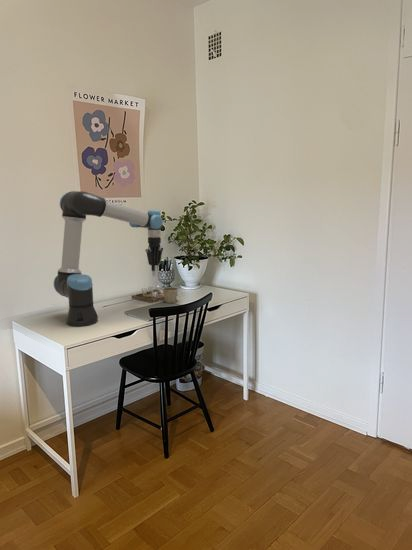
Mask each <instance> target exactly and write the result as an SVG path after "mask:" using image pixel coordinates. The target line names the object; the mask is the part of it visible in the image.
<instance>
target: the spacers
mask: <svg viewBox="0 0 412 550" xmlns="http://www.w3.org/2000/svg"><path fill="white" fill-rule="evenodd" d="M147 290H148V291H147ZM153 290H154V287H153V286H148V287H147V288H141V293H142V297H143V298H144V296H145V295H147V292H148V295H152V299H155V298H158V296H157V294H161V293H162V291H161V290H162V289H161V284H160V285H159V284H158V285H155V290H156V292H153Z"/></svg>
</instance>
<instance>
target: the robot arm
mask: <svg viewBox="0 0 412 550" xmlns="http://www.w3.org/2000/svg"><path fill="white" fill-rule="evenodd" d="M59 206H60V209H61V212H62V214H61V217H62V220H64V227H63V228H64V230H63V240H62V241H63V242H62V243H63V244H62V253H61V254H62V256H61V266H60V268H58V269H57V275H56V276H55V278H54V280H53V288H54V290H55V292H56V293H57V294H59V295H60V296H62V297H66V298H68V310H67V311H68V312H67V315H66V319H65V321H66V325H68V326H72V327H86V326H90V325H94V324H96V323H98V322H99V317H98V314H97V311H96V309H95V305H94V291H93V290H94V288H93V285H94V284H93V280H92V277H91V276H90V275H88V274H86V273H85V274H83V273H82V271H81V269H80V257H81V256H80V255H81V243H82V232H83V222H86V220H87V216H93V217H99V218H101V217H107V218H111V219H114V220H118V221H121V222H125V223H129V224H128V225H129V227H131V228H143V229H147V236H148V237H147V243H148V247H147V248H146V249H145V252H146V256H147V263H148V265H149V266H151V276H152V277H158V271H159V270H158V269H159V267H158V266H160V264H161V260H162V255H163V250H164V247H161V242H162V241H161V240H162V239H161V236H162V235H161V234H162V232H161V230H162V229H161V227H162V226H163V223H164V222H163V217H162V216H161V211H160V210H157V209H155V210H153V209H152V210H151V209H150V210H149V209H148V210H147V212H145V211H142V210H138V209H136V208H131V207H128V206H124V205H121V204H117V203H114V202H111V201H107V199H106V198H104V197H101V196H98V195H95V194H93V193H90V192H87V191H83V190H82V191H79V190H78V191H77V190H76V191H73V190H71V191H67V192H65V193H64V194H63V195H62V196H61V197H60V201H59Z"/></svg>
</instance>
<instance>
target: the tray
mask: <svg viewBox="0 0 412 550" xmlns="http://www.w3.org/2000/svg"><path fill="white" fill-rule="evenodd" d="M153 292H156V289H153ZM147 295H148V291H147ZM157 296H158V298H155V299H148V298H143V297H142V292H141V293H137V294H133V295H131V299H132V300H136V301H142V302H146V303H151V304H153V303H157V302H160V301H163V300H164V301H165V298H164V293H163V292H161V294H157ZM177 296H179V295H178V294H177Z"/></svg>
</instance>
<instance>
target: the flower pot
mask: <svg viewBox="0 0 412 550" xmlns="http://www.w3.org/2000/svg"><path fill="white" fill-rule="evenodd" d="M161 290H162V293H164V298H165V299H164V302H165V303H168V304H172V303H176V302H177V295H178V290H179V287H176V286H175V287H174V286H172V287H171V286H170V287H169V286H168V287H163V288H162V289H161Z"/></svg>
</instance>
